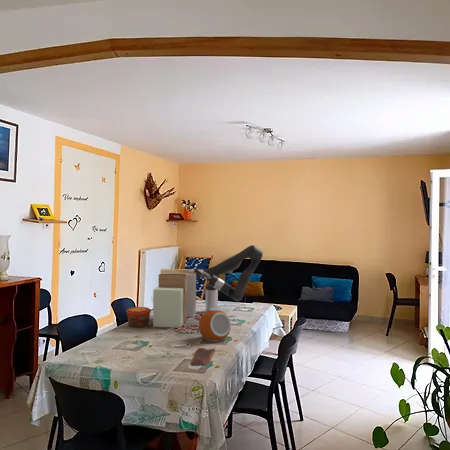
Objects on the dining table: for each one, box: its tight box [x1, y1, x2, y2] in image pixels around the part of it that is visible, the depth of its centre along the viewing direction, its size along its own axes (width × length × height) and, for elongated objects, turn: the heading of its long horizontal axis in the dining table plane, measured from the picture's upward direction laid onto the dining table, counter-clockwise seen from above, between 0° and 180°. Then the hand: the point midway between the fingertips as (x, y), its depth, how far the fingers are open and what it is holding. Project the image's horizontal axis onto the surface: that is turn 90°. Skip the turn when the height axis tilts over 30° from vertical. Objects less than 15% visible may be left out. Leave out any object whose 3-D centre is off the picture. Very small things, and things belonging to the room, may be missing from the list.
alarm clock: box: [198, 308, 232, 342], centre depth 251 cm, size 19×18×17 cm
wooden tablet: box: [190, 347, 216, 367], centre depth 217 cm, size 26×2×10 cm
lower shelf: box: [152, 286, 184, 328], centre depth 280 cm, size 9×18×24 cm, turn 84°
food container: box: [125, 306, 152, 329], centre depth 279 cm, size 16×16×11 cm
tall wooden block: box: [158, 272, 189, 324], centre depth 292 cm, size 9×20×32 cm, turn 84°
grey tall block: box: [186, 274, 197, 318], centre depth 307 cm, size 14×6×30 cm, turn 84°
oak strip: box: [160, 268, 203, 275], centre depth 291 cm, size 4×28×2 cm, turn 84°
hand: (195, 269), depth 290 cm, fingers closed on oak strip, 4 cm apart
